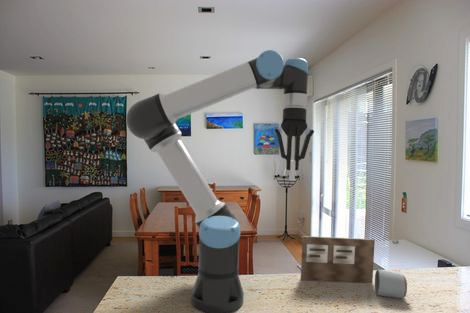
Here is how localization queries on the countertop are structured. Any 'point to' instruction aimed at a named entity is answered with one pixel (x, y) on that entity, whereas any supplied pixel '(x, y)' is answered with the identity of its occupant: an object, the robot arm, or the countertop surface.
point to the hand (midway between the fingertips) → (291, 180)
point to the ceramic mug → (390, 284)
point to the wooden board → (337, 259)
